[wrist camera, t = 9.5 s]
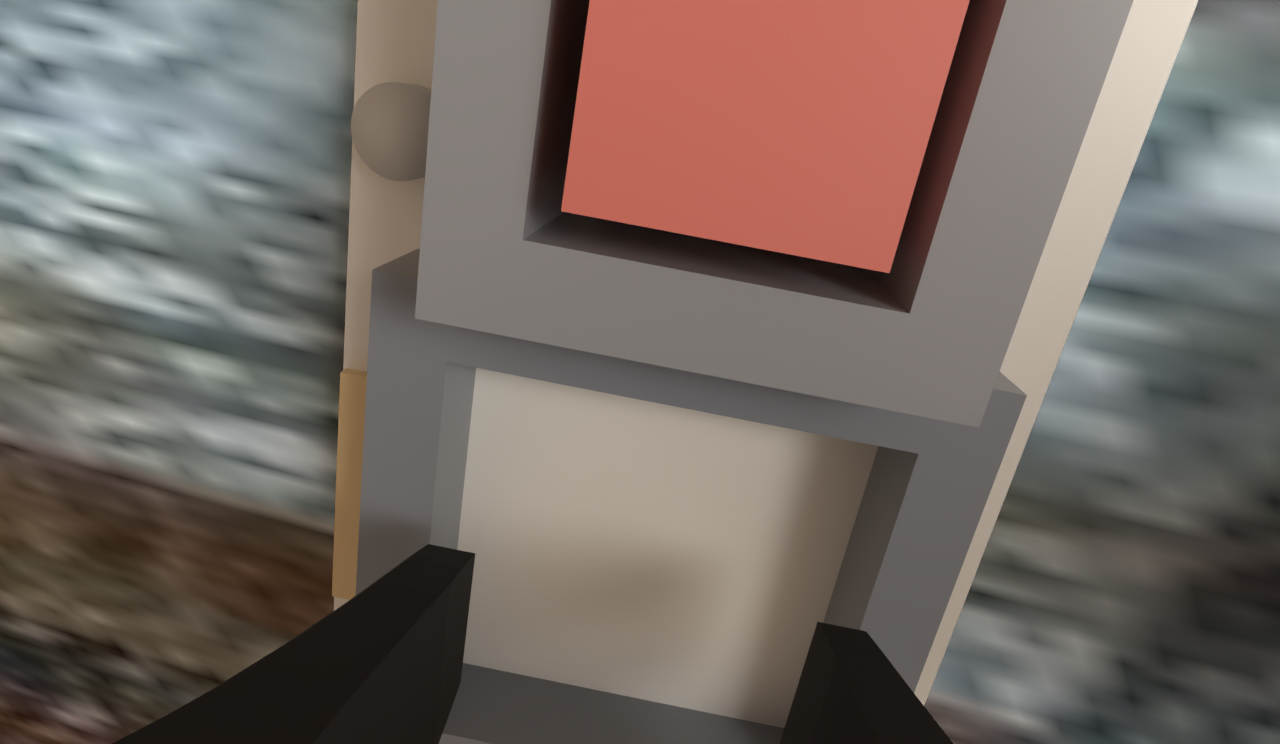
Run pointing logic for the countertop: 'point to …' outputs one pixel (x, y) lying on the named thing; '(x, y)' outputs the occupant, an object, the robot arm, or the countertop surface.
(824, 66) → the plunger
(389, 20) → the panel
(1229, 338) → the countertop surface
